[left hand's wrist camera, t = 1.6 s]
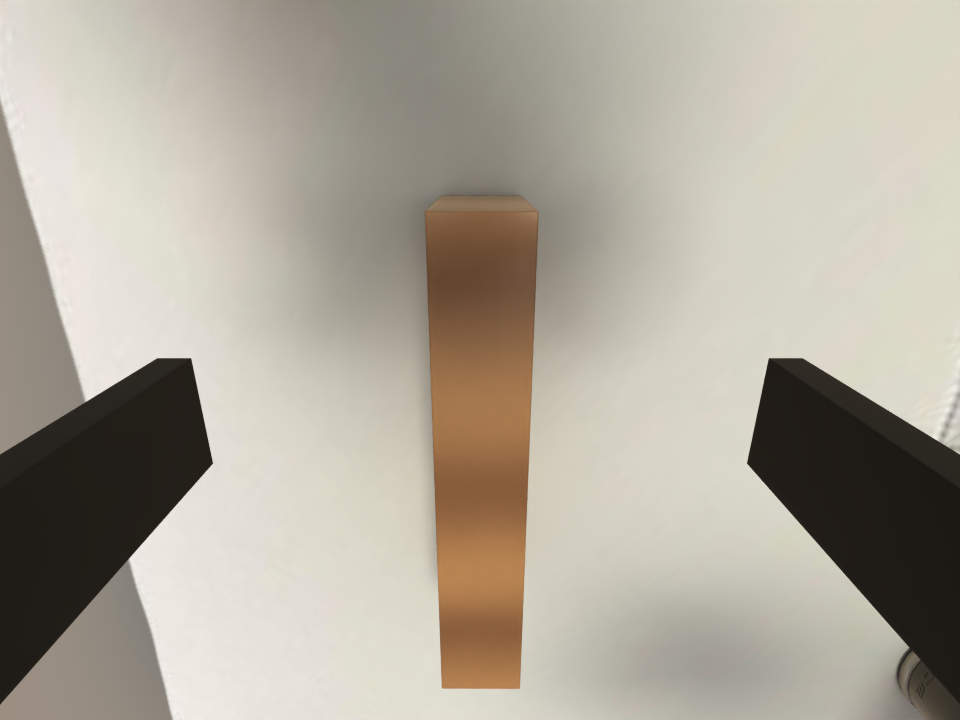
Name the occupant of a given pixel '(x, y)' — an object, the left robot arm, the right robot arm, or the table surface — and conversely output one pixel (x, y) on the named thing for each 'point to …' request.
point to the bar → (481, 427)
